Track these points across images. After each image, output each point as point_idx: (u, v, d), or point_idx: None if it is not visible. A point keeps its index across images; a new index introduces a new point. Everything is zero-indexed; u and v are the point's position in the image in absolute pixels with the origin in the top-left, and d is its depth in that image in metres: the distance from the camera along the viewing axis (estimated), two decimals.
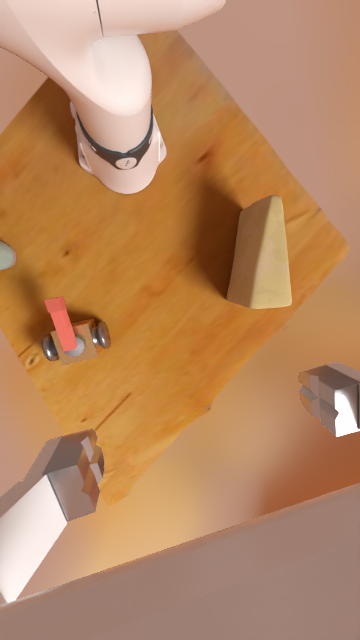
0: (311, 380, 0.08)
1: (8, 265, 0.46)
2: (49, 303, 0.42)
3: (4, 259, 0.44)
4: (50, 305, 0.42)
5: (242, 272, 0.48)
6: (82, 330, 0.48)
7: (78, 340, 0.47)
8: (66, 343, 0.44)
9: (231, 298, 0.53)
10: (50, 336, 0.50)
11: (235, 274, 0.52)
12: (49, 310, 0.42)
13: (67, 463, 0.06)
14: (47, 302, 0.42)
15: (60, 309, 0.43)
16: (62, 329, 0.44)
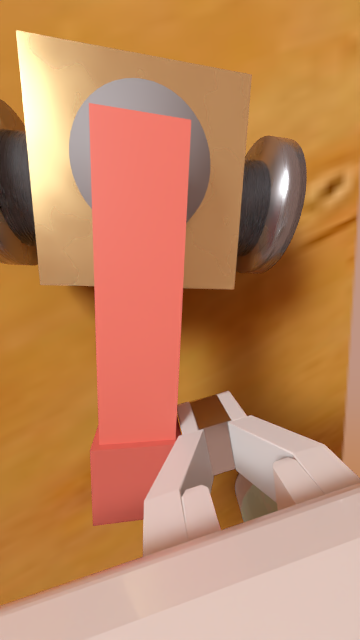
0: None
1: None
2: None
3: None
4: None
5: None
6: (78, 253, 0.08)
7: (92, 194, 0.07)
8: (143, 189, 0.05)
9: None
10: (243, 261, 0.12)
11: None
12: None
13: (216, 420, 0.07)
14: None
15: (100, 457, 0.06)
16: (135, 316, 0.06)
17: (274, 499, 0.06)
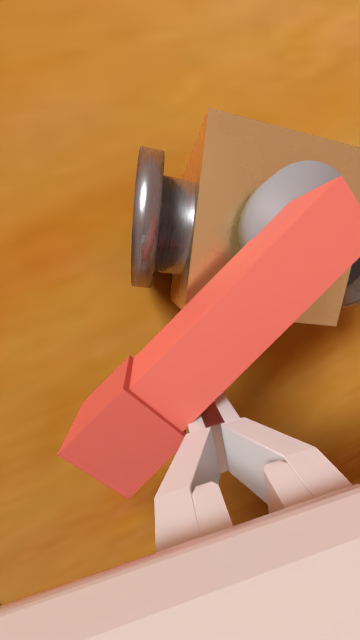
0: None
1: None
2: (127, 469, 0.06)
3: None
4: (135, 458, 0.06)
5: None
6: None
7: (260, 213, 0.08)
8: (323, 248, 0.06)
9: None
10: None
11: None
12: (168, 446, 0.06)
13: (223, 418, 0.07)
14: (128, 480, 0.06)
15: (123, 400, 0.06)
16: (245, 319, 0.06)
17: (267, 501, 0.06)
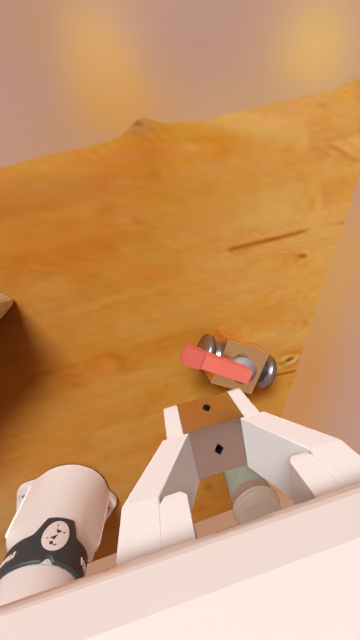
0: (207, 409, 0.08)
1: None
2: (189, 361, 0.31)
3: (233, 470, 0.42)
4: (192, 362, 0.31)
5: None
6: (221, 378, 0.37)
7: (242, 361, 0.35)
8: (241, 375, 0.33)
9: None
10: None
11: None
12: (196, 367, 0.31)
13: (202, 424, 0.07)
14: (187, 362, 0.31)
15: (203, 355, 0.31)
16: (224, 368, 0.32)
17: (288, 494, 0.06)
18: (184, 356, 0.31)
